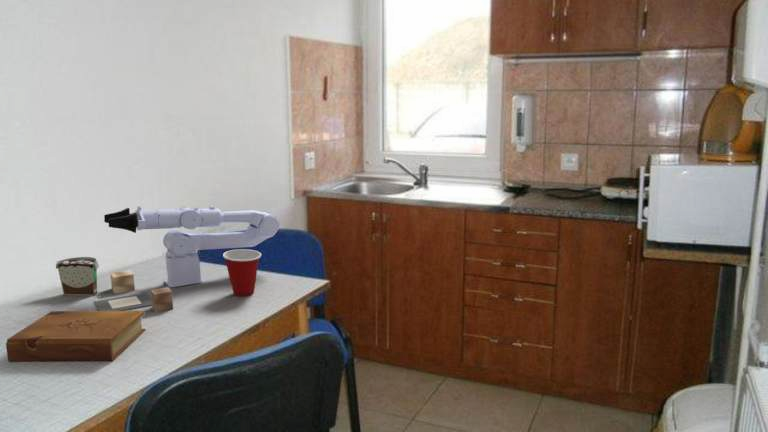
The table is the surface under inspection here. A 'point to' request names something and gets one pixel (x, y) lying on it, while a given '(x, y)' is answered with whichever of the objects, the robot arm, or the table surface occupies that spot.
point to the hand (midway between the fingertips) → (106, 220)
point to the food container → (78, 275)
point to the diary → (76, 336)
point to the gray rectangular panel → (124, 302)
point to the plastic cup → (242, 270)
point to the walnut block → (162, 299)
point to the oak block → (122, 281)
